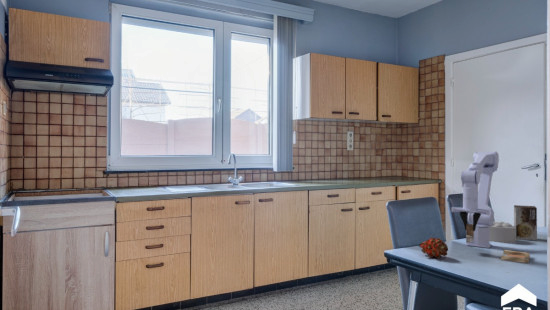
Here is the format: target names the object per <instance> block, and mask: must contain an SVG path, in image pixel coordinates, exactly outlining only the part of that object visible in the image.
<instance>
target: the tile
mask: <svg viewBox="0 0 550 310" xmlns="http://www.w3.org/2000/svg"><path fill="white" fill-rule="evenodd" d="M506 256H512V257H520V258H525V256H519V255H512V254H507V255H506Z"/></svg>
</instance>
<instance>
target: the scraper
mask: <svg viewBox="0 0 550 310" xmlns="http://www.w3.org/2000/svg"><path fill="white" fill-rule="evenodd" d="M465 231H466V232H465V235H467V236H465V243H466V242H470V243H472V241H473V240H474V231H473V224H469V223H467V228H466V230H465Z"/></svg>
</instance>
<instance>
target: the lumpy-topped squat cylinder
mask: <svg viewBox="0 0 550 310" xmlns="http://www.w3.org/2000/svg"><path fill="white" fill-rule="evenodd" d="M489 242H494V243H501V244H503V243H504V244H515V243H517V239H516V227H515V226H514V225H512V224H511V223H509V222H504V221H494V223H493V225H492V226H490V239H489Z"/></svg>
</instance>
